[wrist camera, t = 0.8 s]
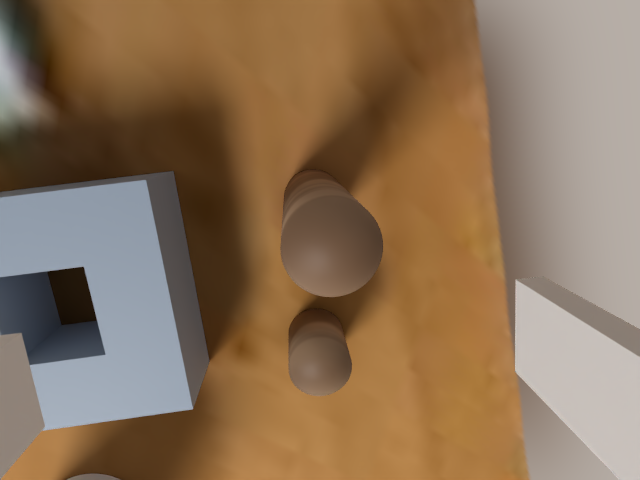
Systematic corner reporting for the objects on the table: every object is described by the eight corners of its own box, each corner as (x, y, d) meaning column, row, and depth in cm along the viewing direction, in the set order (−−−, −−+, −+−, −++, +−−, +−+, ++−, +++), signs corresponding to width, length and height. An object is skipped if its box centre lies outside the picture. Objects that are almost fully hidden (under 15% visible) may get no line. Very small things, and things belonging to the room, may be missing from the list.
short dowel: (285, 312, 33) (284, 343, 28) (339, 305, 33) (348, 334, 28) (292, 362, 34) (292, 400, 29) (345, 354, 34) (354, 391, 29)
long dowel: (280, 173, 31) (274, 204, 17) (338, 165, 31) (378, 191, 17) (288, 230, 32) (287, 303, 18) (344, 223, 32) (387, 290, 18)
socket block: (-43, 196, 30) (-123, 212, 24) (173, 171, 30) (145, 179, 24) (16, 387, 33) (-43, 442, 27) (209, 361, 34) (193, 409, 28)
